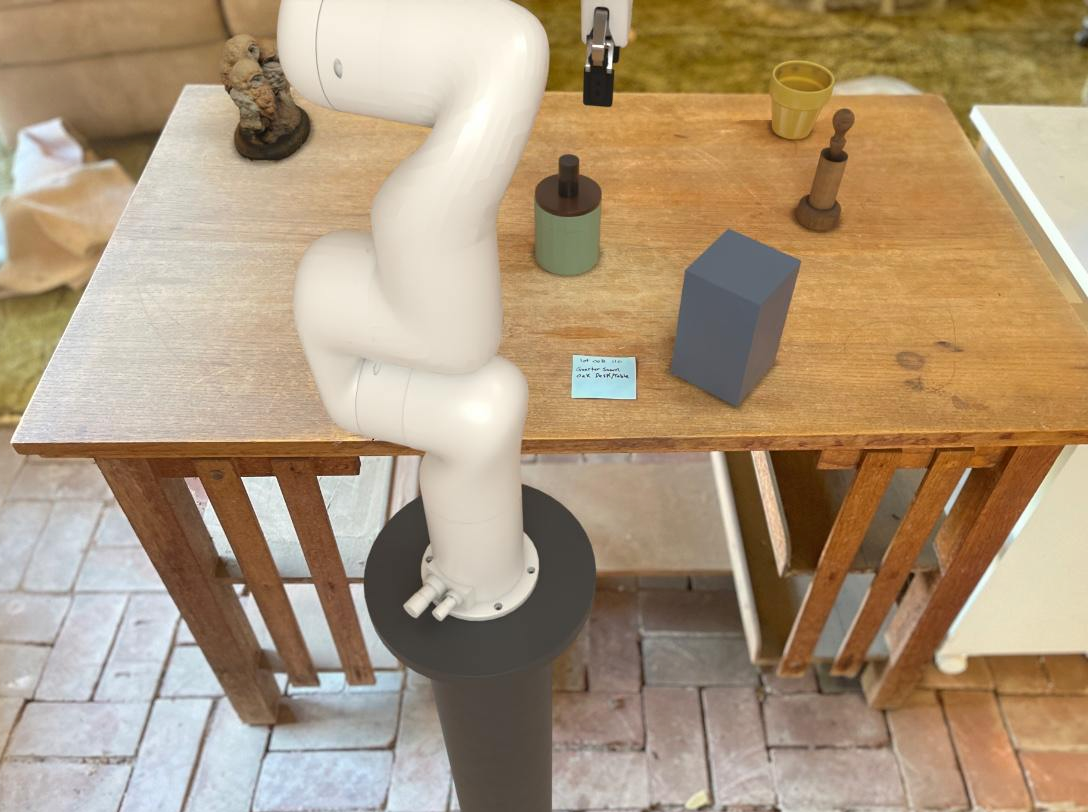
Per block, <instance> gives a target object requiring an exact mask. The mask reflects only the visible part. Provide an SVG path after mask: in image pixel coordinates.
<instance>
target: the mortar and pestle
mask: <svg viewBox="0 0 1088 812" xmlns="http://www.w3.org/2000/svg"><path fill="white" fill-rule="evenodd" d="M855 117H856V116H855V113H854V112H853V110H851V109H850V108H845V107H844V108H840V109H838V110H837V111H835V112H834V114H833V116H832V120H831V121H832V126H833V129H834V135H833V136H831V137H830V140H829V147H824V148H822V150H821V151H820V154H819V158H818V162H817V166H816V170H815V174H814V177H813V181H812V184H811V189H810V192H809V193H808V194H806V195H804V196H802V197H801V198H800V199H799V201H798V205H797V208H796V212H795V217H796V220H797V221H798V223H800V224H801V225H802V227H805V228H807V229H810V230H812V231H817V232H825V231H830V230H833V229H834V228H836V227H837V225H838V223H839V221H840V220H839V219H840V216H841V213H842V206H841V204H840V203H839V201H838V200H837V196H838V194H839V193H838V192H839V190H840V186H841V182H842V180H843V176H844V172H845V169H846V166H847V162H848V160H849V154H848V153H847V152H846V151H845V150H844V148H845V146H846V144H847V139H846V138H845V136H846V133H848V132H849V131H850V130H851V129H852V127H853V126H854V124H855V120H856V119H855Z"/></svg>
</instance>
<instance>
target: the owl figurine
mask: <svg viewBox="0 0 1088 812" xmlns="http://www.w3.org/2000/svg"><path fill="white" fill-rule="evenodd" d="M221 52H222V53H221V54H222V56H221V58H220V60H219V62H218V69H219V74H220V78H221V80H220V81H221V82H222V84H223V86H224V90H225V92H227V95H229V97H230V99H231V101H233V103H234V105H235V107H237V108H238V111H239V122H238V123H237V125H236V128H235V130H234V134H233V143H234V147H235V149H236V151H237V153H238V154H239V155H240V156H241V157H242V158H244V159H247V160H249V161H251V162H253V161H269V162H270V161H271V162H272V161H273V162H275V161H276V162H277V161H280V160H284V159H287V158H289V157H291V156H292V155H293V154H296V152H297V151H298V150H299V149H301V148H302V145H303V144H305V143H306V142H307V140H308V138H309V136H310V131H311V121H310V118H309V114H308V113H307V111H305V109H303V108H302V107H301V106H299V105H297V104H296V103H295V99H294V97H293V95H292V94H291V85H290V83H289V82H288V80H287V79H286V77H285V74H284V72H283V69H282V67H281V64H280V60H279V55H278V48H277V47H276V46H275V43H274V41H273V40H271V39H270V38H260V39H257V40H256V39H255V38H254V36H252V35H250V34H248V33H241V34H236V35H234V36H233V37H231V38H229V39H228V40H227V41H225V43H224V45H223V49H222V51H221Z"/></svg>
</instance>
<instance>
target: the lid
mask: <svg viewBox="0 0 1088 812" xmlns="http://www.w3.org/2000/svg"><path fill="white" fill-rule="evenodd" d="M557 163H558V164H557V165H558V166H557V167H558V168H557V170H558V171H557V173H554V174H552V175H548V176H547V177H545V178H543V179H541V180H540V181H539V182H538V183H537V185H536V186H535V189H534V195H535V200H536V202H537V204H538V205H539V207H540V208H542V209H543V210H544V211H546V212H548V213H550V214H553V215H556V216H562V217H577V216H582V215H585V214H588V213H590V212H592V211H594V210H595V209H596V208H597V207H598V206H599V205H600V203H601V199H602V200H603V198H602V197H603V191H602V188H601V186H600V184H599V183H598V182H597V181H596V180H594V179H593V178H591V177H589V176H587V175H585V174H584V175H583V174H580V158H579V157H578V156H577V155H575V154H571V153H566V154H562V155H561V156H559V158H558V162H557Z"/></svg>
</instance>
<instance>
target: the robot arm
mask: <svg viewBox="0 0 1088 812" xmlns="http://www.w3.org/2000/svg"><path fill="white" fill-rule="evenodd" d="M633 3H634V0H580V33H581V34H580V35H581V42H582V43H583V44H584V45H585V46H586V56H585V66H584V68H583V81H582V82H583V83H582V84H583V85H582V86H583V87H582V104H583V105H584V106H587V107H588V106H589V107H600V108H601V107H602V108H611V107H612V106H613V102H614V88H615V85H614V84H615V69H613V64H618V63H619V61H620V51H621V49H624V48H626V47H627V46H628V45H629V40H630V34H631V27H632V26H631V25H632V19H633ZM276 46H277V47H276V48H277V50H278V55H279V60H280V64H281V67H282V69H283V72H284V74H285V77H286V79H287V80H288V82H289V83H290V87H292V89H293V90H294V92H295V93H297V94H298V95H299V96H300V97H301V98H303V99H304V100H306V101H307V102H308V103H311V104H313V105H315V106H317V107H321V108H322V109H326V110H329V111H333V112H338V113H345V114H350V115H356V116H361V117H367V118H372V119H378V120H382V121H388V122H394V123H400V124H405V125H411V126H418V127H423V128H427V129H431V130H430V132H429V134H428V135H427V137H426V138H425V139H424V140H423V142H422V143H421V144H420V145H419V146H418V147H417V148H416V149H415V150H414V151H413V152H411V153H410V154H409V155H408V156H406V157H405V158H404V159H403V160H402V161H401V162H400V163H399V164H398V165H396V167H394V168H393V170H392V171H391V172H390V173H389V175H388V176H387V177H386V179H384V180H383V182H382V183H381V185H380V186H379V188H378V189H377V191H376V193H375V194H374V196H373V198H372V202H371V206H370V210H369V212H370V213H369V221H370V230H371V232H369V231H362V230H355V229H336V230H332V231H331V230H330V231H328V232H326V233H324V234H321V235H320V236H318V237H316V239H314V240H313V241H312V242H311V243H310V244H308V246H307V247H306V248H305V251H304V252H303V253H302V255H301V257H300V260H299V262H298V265H297V267H296V270H295V275H294V280H293V287H292V313H293V315H292V316H293V320H294V321H293V322H294V325H295V329H296V332H297V336H298V340H299V342H300V346H301V348H302V351H303V353H304V356H305V359H306V362H307V364H308V367H309V369H310V373H311V375H312V377H313V380H314V383H315V386H316V389H317V390H318V391H317V392H318V394H319V397H320V399H321V402H322V404H323V407H324V409H325V411H326V413H327V415H328V416H329V417H330V419H331V420H332V421H333V422H334V423H335V424H336V425H337V426H338V427H339V428H341V429H343V430H344V431H347V432H349V433H353V434H356V435H360V436H362V437H367V438H371V439H375V440H379V441H383V442H388V443H392V444H394V445H395V444H396V445H400V446H405V447H409V448H410V449H414V450H416V451H417V450H418V451H422V452H425V453H424V455H423V458H422V460H421V463H420V465H419V473H418V481H419V488H420V495H422V499H423V505H424V510H425V516H426V521H427V527H428V532H429V538H430V544H429V546H428V547H427V549H426V551H425V553H424V556H423V559H422V564H421V576H422V581H423V585H424V586H423V587H422V588H421V589H420V590H419V591H418V592H417V593H415V594H414V595H413V596H412V597H411V598H410V599H409V600H408V601H407V602H406V603H405V604H404V605H403V606H404V609H405V610H406V611H407V612H408V613H409V614H410V615H411V616H412V617H414V618H418V617H419V615H420V614H421V613H422V612H423V611H424V610H425V609H426V608H427V607H428V606H429V604H430V603H431V602H433V603H434V604H435V605H436V606H437V607H436V608H435V609H434V610H433V611H432V614H433V616H434V617H435V618H436V619H437V620H439V621H442V620H443V619H444V618H445V617H446V616H447V615H451V616H453V617H456V618H459V619H463V620H468V621H485V620H492V619H496V618H499V617H502V616H505V615H507V614H508V613H510V612H512V611H514V610H515V609H517V608H518V607H519V606H521V605H522V604H523V603H524V602H525V601H526V600H527V599H528V597H529V596H530V595H531V593H532V591H533V590H534V588H535V586H536V583H537V580H538V574H539V559H538V554H537V550H536V548H535V546H534V544H533V542H532V541H531V539H530V538H529V537H528V536H527V534H525V533H524V532H523V513H522V488H521V484H522V470H521V469H522V468H521V466H522V465H521V464H522V463H521V461H522V460H521V459H522V458H521V456H522V444H523V437H524V431H525V427H526V421H527V416H528V412H529V403H530V389H529V383H528V379H527V377H526V375H525V374H524V372H523V370H522V369H521V368H520V367H519V366H518V365H517V364H515V363H514V362H513V361H511V360H510V359H508V358H506V357H504V356H502V355H499V354H498V351H499V350H500V347H501V343H502V339H503V334H504V300H503V289H502V275H501V266H500V265H501V264H500V254H499V244H498V229H497V226H498V224H497V222H498V216H499V212H500V208H501V205H502V202H503V200H504V198H505V195H506V193H507V191H508V189H509V187H510V184H511V182H512V180H513V178H514V175H515V173H516V172H517V169H518V166H519V164H520V162H521V160H522V158H523V155H524V152H525V150H526V148H527V145H528V142H529V140H530V137H531V135H532V132H533V130H534V126H535V124H536V121H537V118H538V115H539V112H540V109H541V106H542V102H543V100H544V95H545V91H546V87H547V82H548V76H549V71H550V54H551V53H550V43H549V39H548V35H547V32H546V29H545V28H544V26H543V24H542V23H541V21H540V20H539V19H538V17H536V15H534V14H533V13H532V12H531V11H529V10H528V8H525V7H524V6H522V5H520V4H518V3H516V2H515V1H512V0H280V4H279V9H278V16H277V23H276ZM530 573H533V574H530ZM497 609H500V610H497Z"/></svg>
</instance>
